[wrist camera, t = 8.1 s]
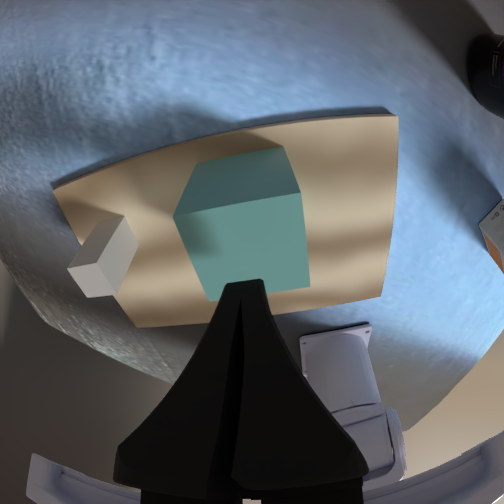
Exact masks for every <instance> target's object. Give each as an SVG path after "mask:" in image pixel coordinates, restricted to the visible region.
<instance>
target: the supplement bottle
mask: <svg viewBox="0 0 504 504" xmlns="http://www.w3.org/2000/svg"><path fill="white" fill-rule="evenodd" d="M467 69H468V76H469V80H470V83H471V86H472V89H473V91H474V93H475V95H476V97H477V99H478V100H479V102H480V103H481V104H482V105H483V106H484V107H485V108H486V109H487V110H488V111H490V112H491V113H493V114H495V115H497V116H499V117H501V118H502V119H504V35H498V34H490V33H485V34H481V35H479V36H477V37H476V38H475V39H474V40H473V42H472V43H471V45H470V48H469V51H468V57H467Z"/></svg>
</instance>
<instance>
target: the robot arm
mask: <svg viewBox="0 0 504 504" xmlns="http://www.w3.org/2000/svg"><path fill="white" fill-rule="evenodd" d="M371 331H372V325H371V324H366V325H361V326H356V327H351V328H346V329H341V330H335V331H330V332H324V333H318V334H312V335H306V336H302V337H300V339H299V340H300V350H301V360H302V371H303V374H302V372H301V371H300V369H299V367H298V366H297V364H296V362H295V361H294V359H293V357H292V355H291V354H290V352H289V350H288V348H287V346H286V344H285V342H284V340H283V338H282V336H281V334H280V332H279V330H278V328H277V325H276V323H275V321H274V318H273V316H272V313H271V311H270V307H269V302H268V298H267V294H266V289H265V285H264V280H262V279H260V278H259V279H252V280H245V281H238V282H231V283H226V285H225V286H224V289H223V292H222V294H221V297H220V299H219V302H218V304H217V307H216V309H215V311H214V314H213V316H212V318H211V320H210V322H209V325H208V327H207V329H206V331H205V333H204V335H203V337H202V339H201V341H200V343H199V344H198V346H197V348H196V350H195V352H194V354H193V355H192V357H191V359H190V361H189V362H188V364H187V365H186V367H185V369H184V370H183V372H182V373H181V375H180V376H179V378H178V379H177V381H176V382H175V383H174V385H173V386H172V388H171V389H170V390H169V392H168V393H167V394H166V396H165V397H164V398H163V400H162V401H161V402H160V403H159V404H158V406H157V407H156V408H155V409H154V410H153V411H152V412H151V414H150V415H149V416H148V417H147V418H146V419H145V420H144V421H143V422H142V424H141V425H140V426H139V427H138V428H137V429H136V430H134V431H133V433H131V434H130V435H129V436H128V437H127V438H126V439H125V440H124V441H123V442H122V443H121V444H120V445H119V446H118V448H117V452H116V457H115V465H114V473H113V480H114V482H117V483H119V484H122V485H126V486H130V487H134V488H138V489H141V492H137V491H133V490H129V489H125V488H122V487H118V486H114V485H111V484H108V483H105V482H102V481H99V480H96V479H93V478H90V477H88V476H85V475H84V474H83V473H80V472H77V471H75V470H72V469H70V468H68V467H65V466H62V465H60V464H56V463H54V462H52V461H49V460H47V459H45V458H43V457H41V456H39V455H37V454H35V453H33V454H32V458H31V464H30V470H29V476H28V483H27V493H26V495H27V496H28V497H29V498H30V499H32V500H33V501H35V502H36V503H37V504H243V503H242V499H251V500H261V504H493V503H494V502H496V501H497V500H498V499H500V498H501V497H502V496H503V495H504V431H502V432H501V433H499V434H498V435H496V436H494V437H492V438H489V439H488V440H486V441H484V442H482V443H480V444H479V445H477V446H475V447H473V448H471V449H470V450H468V451H466V452H464V453H462V455H461V456H459V457H457V458H455V459H453V460H450V461H448V462H446V463H444V464H442V465H440V466H437V467H435V468H433V469H430V470H428V471H426V472H423V473H421V474H418V475H415V476H413V477H410V478H407V479H404V480H402V478H403V477H404V476H405V473H404V472H405V471H406V470H407V468H406V462H405V456H406V454H405V446H404V440H403V435H402V430H401V426H400V422H399V418H398V415H397V412H396V411H395V410H393V409H391V408H387V409H385V411H386V416H387V422H386V418H385V414H384V409H383V405H382V403H381V400H380V396H379V392H378V388H377V384H376V380H375V377H374V373H373V369H372V365H371V362H370V358H369V355H368V351H367V346H368V342H369V339H370V335H371ZM304 376H308V381H307V380H306V378H305V377H304ZM387 423H388V427H387ZM392 448H393V453H392Z"/></svg>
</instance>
